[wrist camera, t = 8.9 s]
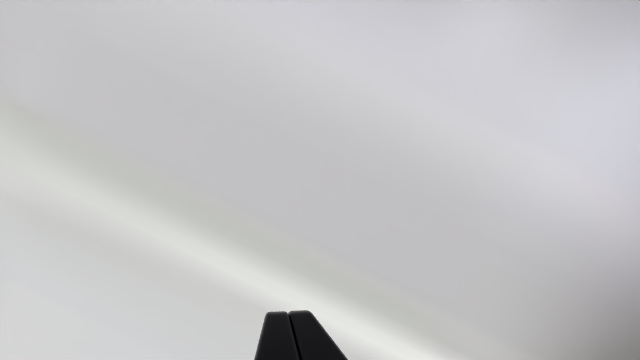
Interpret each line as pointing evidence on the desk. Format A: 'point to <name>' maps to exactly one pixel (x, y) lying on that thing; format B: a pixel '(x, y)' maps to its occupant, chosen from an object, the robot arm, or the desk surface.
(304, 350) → the robot arm
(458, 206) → the desk surface
